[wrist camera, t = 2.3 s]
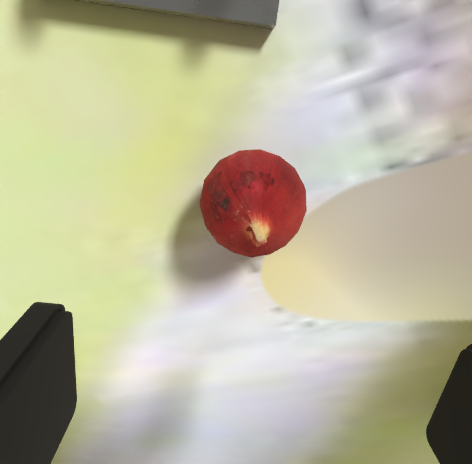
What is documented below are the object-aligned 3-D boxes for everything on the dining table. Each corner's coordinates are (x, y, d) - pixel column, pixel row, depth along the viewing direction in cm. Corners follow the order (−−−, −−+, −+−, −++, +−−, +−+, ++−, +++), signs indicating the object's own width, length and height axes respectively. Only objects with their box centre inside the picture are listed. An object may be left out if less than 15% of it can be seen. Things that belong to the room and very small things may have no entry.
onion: (188, 193, 24) (167, 244, 16) (241, 120, 22) (245, 140, 15) (257, 241, 25) (267, 309, 18) (313, 176, 23) (349, 221, 16)
